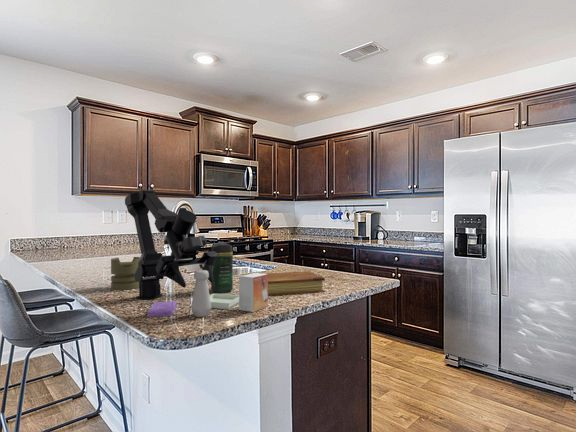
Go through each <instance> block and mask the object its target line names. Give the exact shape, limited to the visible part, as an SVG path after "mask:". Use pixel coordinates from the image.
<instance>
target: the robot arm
mask: <svg viewBox="0 0 576 432" xmlns="http://www.w3.org/2000/svg"><path fill="white" fill-rule="evenodd" d="M124 204H125V206H126V209H127V212H128V214H129V215H130V216H132V218H133V220H134V225H135V229H136V234H137V240H138V244H139V249H140V254H141V255H140V256H139V257H140V259H139V262H138V268H137V270H136V272H135V274H134V276H135V281H138V282H139V289H138V293H139V294H138V296H136V299H141V300H153V299H156V298H159V297H161V296H163V293H161V282H160V280H164V277H166V278H168V279H170V280H171V281H174V283H177V284H178V285H179V286H181V287H182V288H186V286H187V283H186V281H185V279H184V276H183V274H182V273H181V270H180V268H179V267H189V266H190V267H191V266H199V268H200V269H201V270H206V271H208V273H209V278H207V281H209V283H210V284H211V283H213V270H212V267H213V266H214V264H215V262H216V261H217V259H218V255H217V253H216V252H211V251H204V252H203V254H202V256H201V257H197V256H198V255H199V253H200V252H199V250H200V249H201V248H204V247H205V246H206V245H207V243H208V241H207V238H206V237H205V235H198V236H189V237H187V236H186V235H189V234H190V233H191V231H192V229H193V227H194V225H195V224H196V221H197V215H196V214H195V213H193V212H192V211H190V210H187V208H186V207H179V209H178V211H177V213H176V212H174V211H171V210H169V209H168V208H167V207H166V206H165V204H164V203H163V202H162V200H161V198H159V197H158V196H157V192H156V191H155V190H153V189H152V190H151V189H150V190H149V189H142V190H140V191H137V192H134V193H129V194H128V195H127V196H125V198H124ZM149 212H150V213H151V214H152V216H153V218H154V219H155V220H154V226H155V228H156V230H157V231H158V232H159V233H166V235H165V239H164V241H163V244H164V245H168V246H169V248H170V251H171V253H170V254H169V255H163V254H162V253H161V252H158V251H156V247H155V242H154V238H153V233H152V227H151V223H150V219H149Z"/></svg>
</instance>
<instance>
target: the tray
mask: <svg viewBox="0 0 576 432" xmlns="http://www.w3.org/2000/svg"><path fill="white" fill-rule="evenodd" d="M209 295H210V301H211V309H221V310H230V309H232V308H234V307H235V306H237V305H239V294H229V293H225V294H224V293H211V294H209Z"/></svg>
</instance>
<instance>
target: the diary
mask: <svg viewBox="0 0 576 432" xmlns="http://www.w3.org/2000/svg"><path fill="white" fill-rule="evenodd" d="M265 274H268V295H269V296H278V295H280V296H281V295H282V294H284V295H295V294H310V293H312V294H313V293H326V292H325V291H326V290H325V289H323V281H326V279H325V277H322V276H321V275H318V274H317V273H314V272H311V271H309V270H308V271H306V270H305V271H290V272H289V271H287V272H271V273H265Z"/></svg>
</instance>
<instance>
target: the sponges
mask: <svg viewBox="0 0 576 432" xmlns="http://www.w3.org/2000/svg"><path fill="white" fill-rule="evenodd" d="M177 304H178V301H177V300H176V301H175V300H174V301H164V302H163V301H162V302H153V304H152V306H151V307H150V309H148V311H147V315H146V316H147V317H148V318H149V317H163V316H164V317H165V316H172V315H174V311H175V309H176V307H177Z"/></svg>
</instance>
